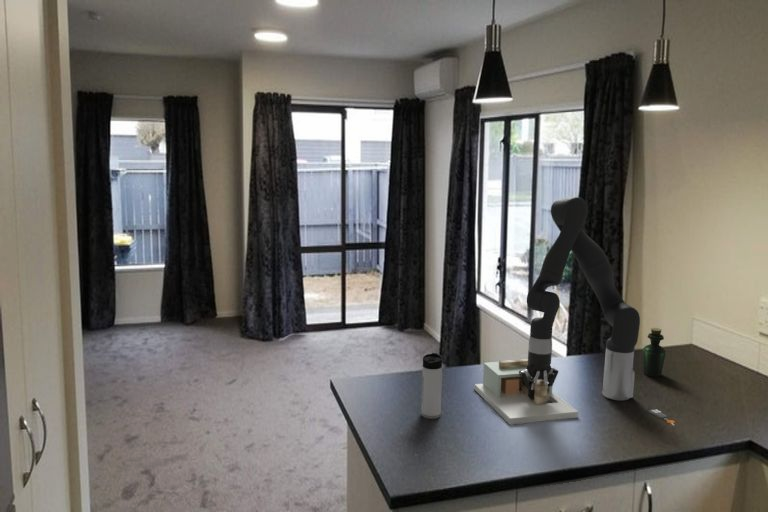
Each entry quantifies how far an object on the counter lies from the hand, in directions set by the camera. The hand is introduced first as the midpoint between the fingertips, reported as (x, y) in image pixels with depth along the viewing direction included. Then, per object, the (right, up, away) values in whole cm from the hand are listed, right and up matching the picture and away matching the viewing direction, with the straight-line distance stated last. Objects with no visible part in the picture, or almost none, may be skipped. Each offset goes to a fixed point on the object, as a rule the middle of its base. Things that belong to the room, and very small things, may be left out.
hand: (537, 398), depth 205 cm
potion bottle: (+53, +2, +33) cm, 62 cm away
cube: (-8, +1, +9) cm, 12 cm away
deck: (-4, -2, +4) cm, 6 cm away
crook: (-4, +1, +6) cm, 7 cm away
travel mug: (-36, -4, -7) cm, 37 cm away
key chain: (+40, -6, -8) cm, 41 cm away
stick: (-4, +9, +10) cm, 14 cm away
